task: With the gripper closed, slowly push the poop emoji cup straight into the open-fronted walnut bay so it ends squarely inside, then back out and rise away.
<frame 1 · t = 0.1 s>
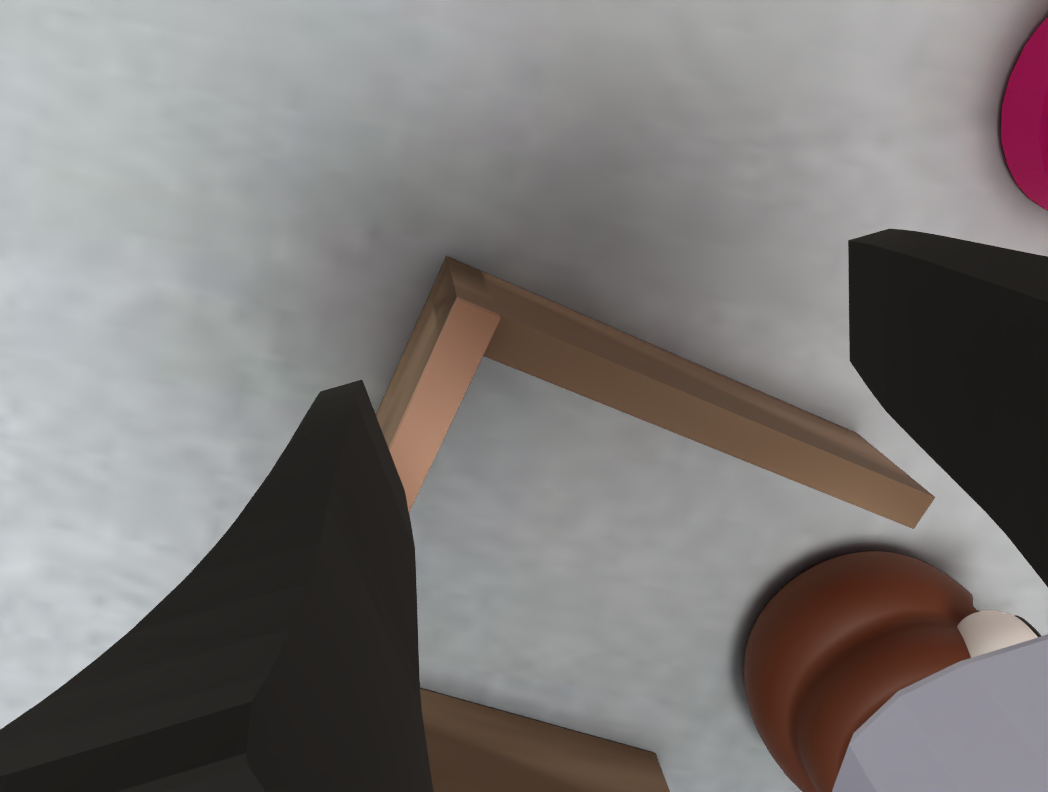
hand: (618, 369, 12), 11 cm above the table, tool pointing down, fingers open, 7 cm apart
walnut bay: (573, 558, 26), on the table
poop emoji: (857, 651, 29), on the table
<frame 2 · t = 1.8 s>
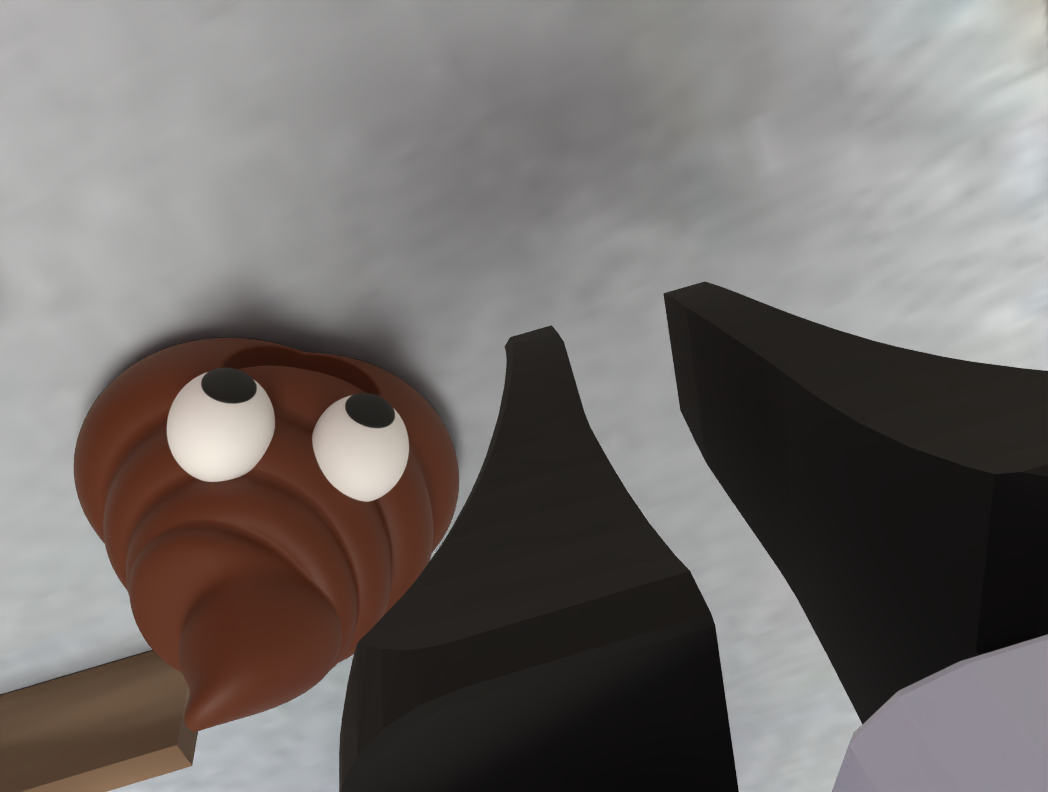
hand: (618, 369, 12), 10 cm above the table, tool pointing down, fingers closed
poop emoji: (282, 443, 24), on the table
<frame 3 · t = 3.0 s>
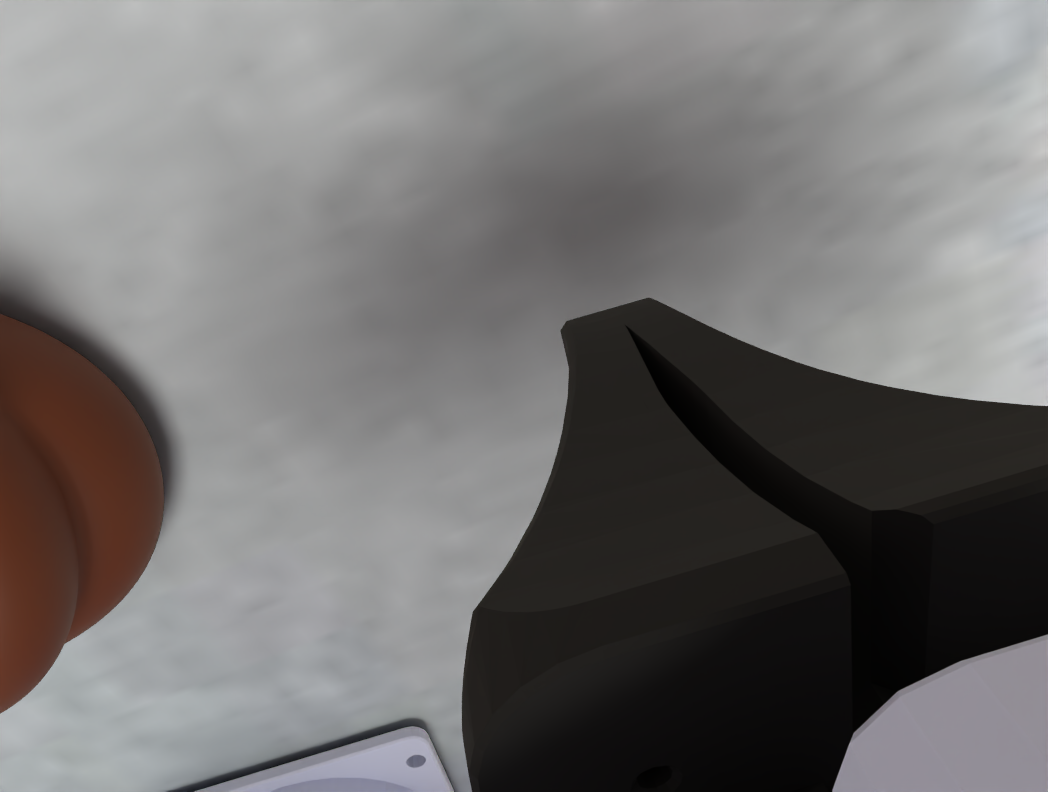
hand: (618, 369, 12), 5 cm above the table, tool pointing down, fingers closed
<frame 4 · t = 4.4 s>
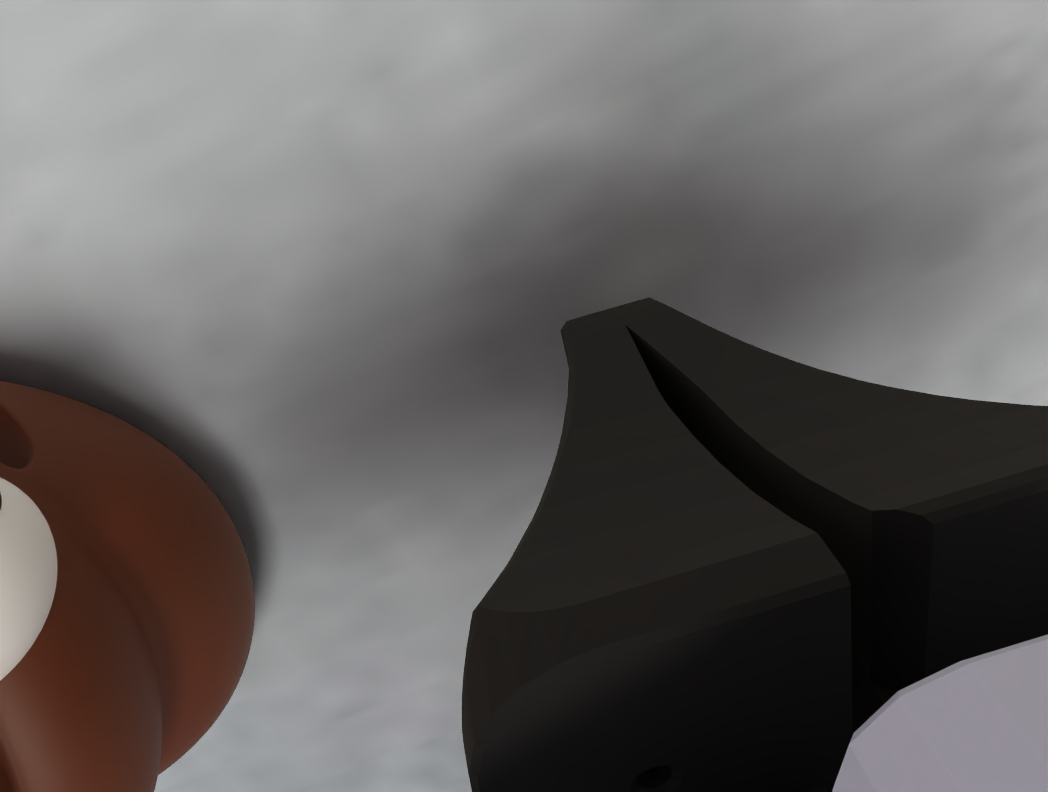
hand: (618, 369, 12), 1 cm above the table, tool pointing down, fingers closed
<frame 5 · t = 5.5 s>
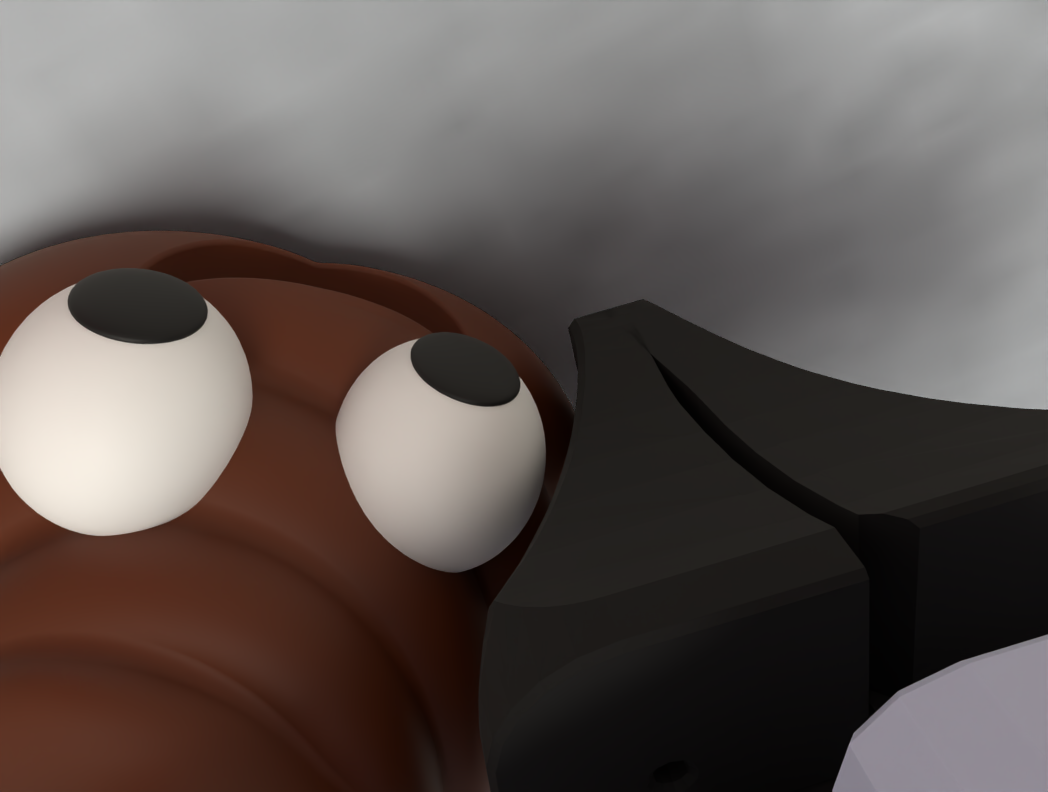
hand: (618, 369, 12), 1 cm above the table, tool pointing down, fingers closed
poop emoji: (273, 443, 14), on the table, touching gripper
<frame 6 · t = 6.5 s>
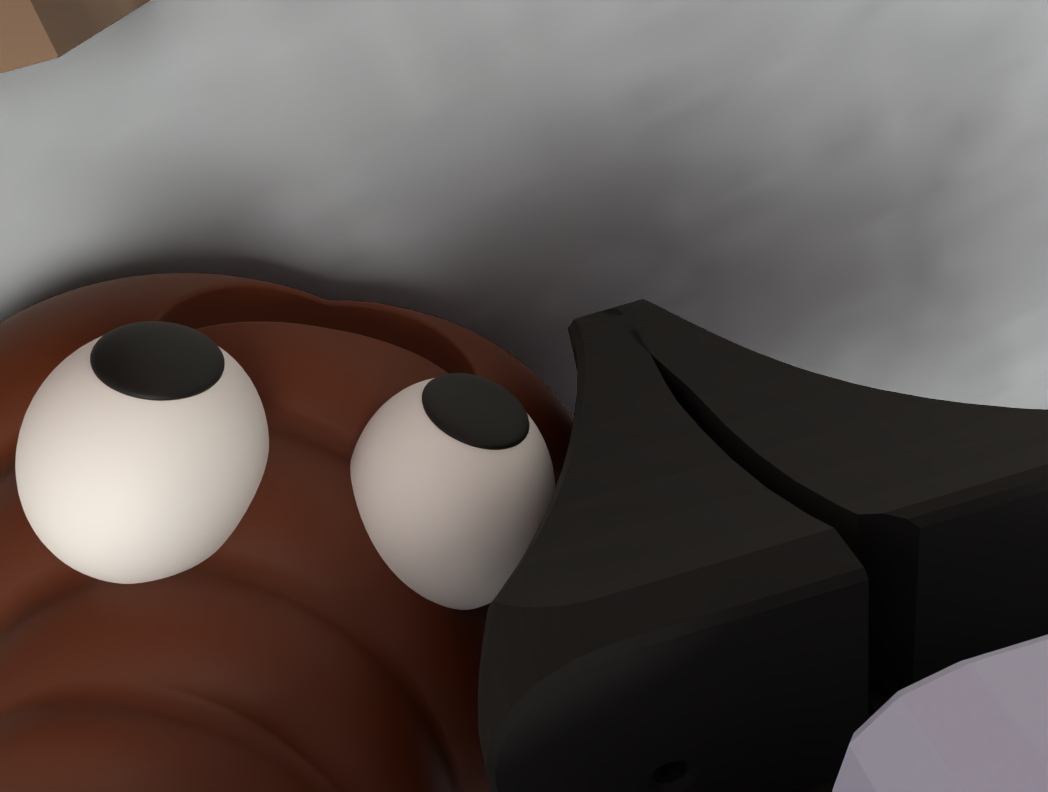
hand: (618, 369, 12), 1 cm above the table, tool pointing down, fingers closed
poop emoji: (288, 471, 14), on the table, touching gripper
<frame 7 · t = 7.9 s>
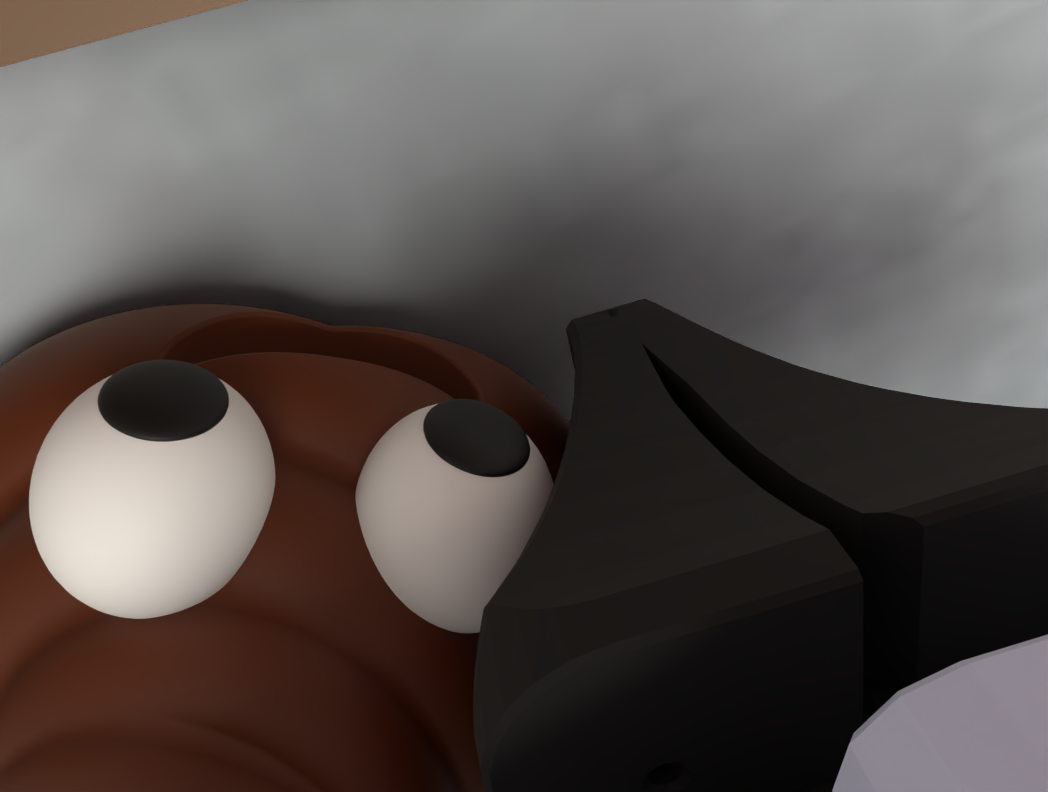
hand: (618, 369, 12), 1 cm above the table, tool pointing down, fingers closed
walnut bay: (235, 435, 13), on the table
poop emoji: (299, 490, 14), on the table, touching gripper
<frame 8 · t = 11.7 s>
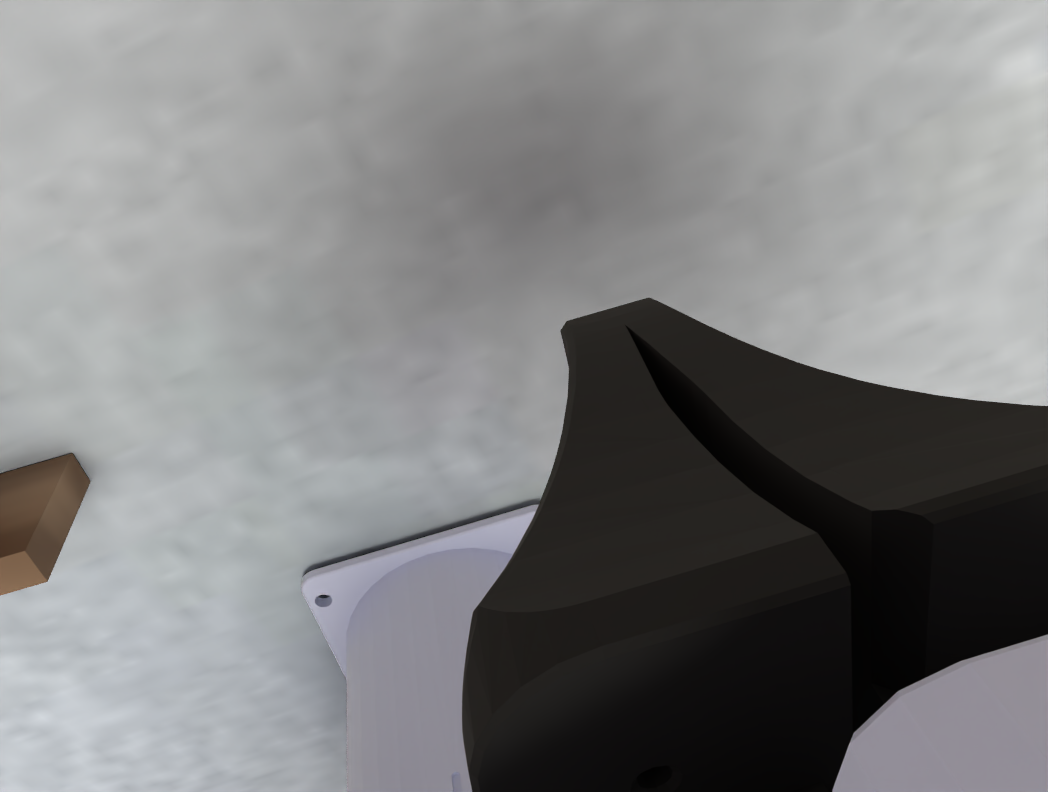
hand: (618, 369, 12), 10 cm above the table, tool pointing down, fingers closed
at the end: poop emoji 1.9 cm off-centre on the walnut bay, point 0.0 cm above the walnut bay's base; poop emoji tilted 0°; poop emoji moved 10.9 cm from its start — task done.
